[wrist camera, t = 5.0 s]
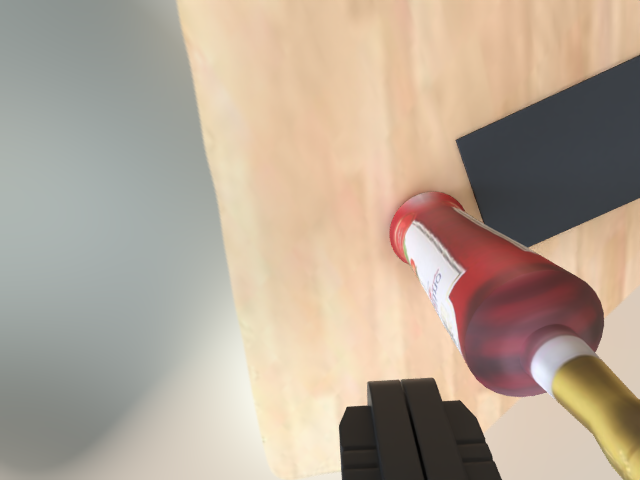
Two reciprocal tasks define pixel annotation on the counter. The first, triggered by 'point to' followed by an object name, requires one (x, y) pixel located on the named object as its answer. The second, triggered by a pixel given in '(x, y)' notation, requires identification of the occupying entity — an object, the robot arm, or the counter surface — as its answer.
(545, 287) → the liquor
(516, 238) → the mat
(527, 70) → the counter surface
